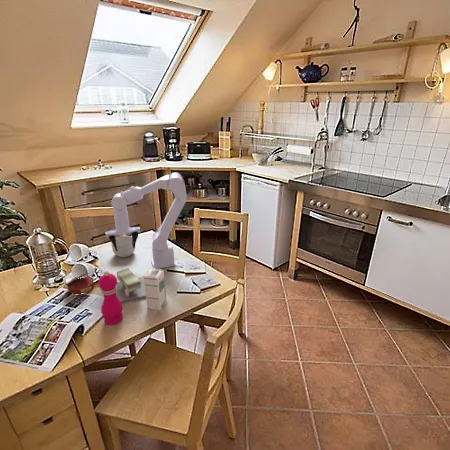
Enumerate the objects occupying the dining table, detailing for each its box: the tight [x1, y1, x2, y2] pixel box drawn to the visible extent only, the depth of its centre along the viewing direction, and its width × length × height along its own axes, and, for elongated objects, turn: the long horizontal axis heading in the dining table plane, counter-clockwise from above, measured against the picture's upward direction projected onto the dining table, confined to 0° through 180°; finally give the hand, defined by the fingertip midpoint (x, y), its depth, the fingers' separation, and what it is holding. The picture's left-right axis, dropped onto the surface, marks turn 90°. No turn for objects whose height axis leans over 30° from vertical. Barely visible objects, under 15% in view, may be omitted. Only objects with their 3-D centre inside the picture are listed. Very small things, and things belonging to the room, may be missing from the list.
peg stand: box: [116, 276, 146, 304], centre depth 127 cm, size 18×14×4 cm
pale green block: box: [116, 268, 141, 292], centre depth 126 cm, size 12×5×3 cm, turn 38°
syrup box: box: [142, 267, 167, 311], centre depth 117 cm, size 6×6×14 cm
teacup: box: [110, 234, 136, 258], centre depth 156 cm, size 14×11×8 cm
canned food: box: [65, 272, 95, 294], centre depth 128 cm, size 11×10×10 cm
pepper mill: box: [98, 270, 124, 326], centre depth 108 cm, size 7×7×20 cm
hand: (125, 248), depth 142 cm, fingers open, 7 cm apart
